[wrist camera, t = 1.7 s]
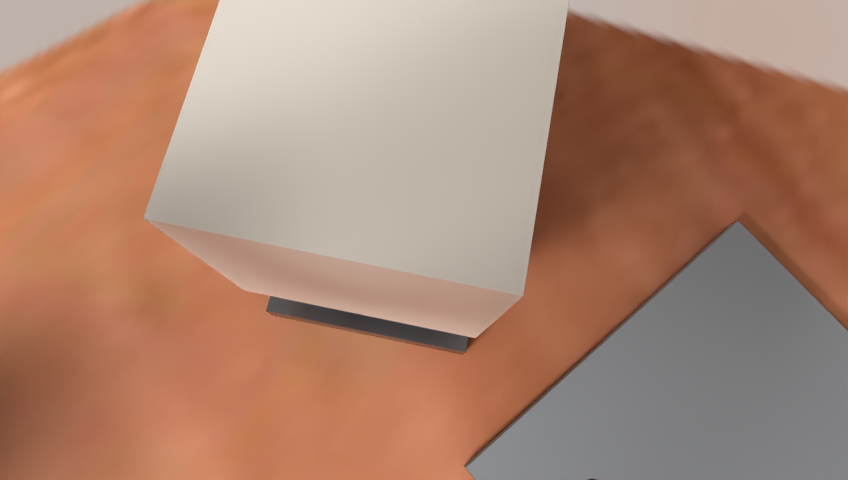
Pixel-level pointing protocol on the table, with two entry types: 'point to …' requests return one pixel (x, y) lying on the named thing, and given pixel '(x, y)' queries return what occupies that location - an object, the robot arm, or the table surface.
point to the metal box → (367, 325)
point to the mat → (696, 385)
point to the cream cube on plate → (368, 153)
